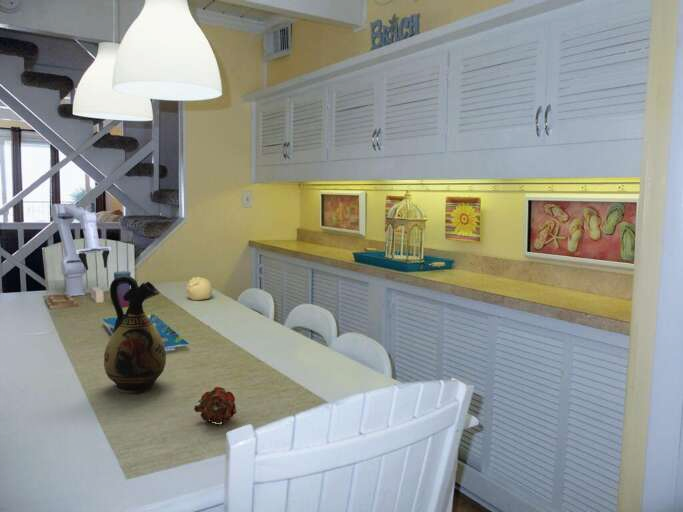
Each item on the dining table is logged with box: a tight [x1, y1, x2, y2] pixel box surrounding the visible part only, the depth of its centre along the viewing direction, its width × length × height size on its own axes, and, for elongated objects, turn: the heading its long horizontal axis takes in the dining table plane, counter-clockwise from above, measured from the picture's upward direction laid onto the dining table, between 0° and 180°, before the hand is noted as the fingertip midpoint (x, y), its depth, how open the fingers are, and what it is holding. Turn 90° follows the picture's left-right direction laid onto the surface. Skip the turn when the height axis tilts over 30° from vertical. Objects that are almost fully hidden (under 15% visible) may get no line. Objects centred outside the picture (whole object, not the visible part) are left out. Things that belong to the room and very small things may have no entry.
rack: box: [44, 293, 79, 310], centre depth 241 cm, size 18×11×2 cm, turn 34°
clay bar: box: [90, 286, 105, 304], centre depth 250 cm, size 12×3×5 cm, turn 35°
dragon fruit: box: [193, 386, 237, 424], centre depth 126 cm, size 8×8×12 cm
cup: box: [113, 270, 131, 308], centre depth 238 cm, size 7×7×15 cm
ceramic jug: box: [103, 275, 167, 395], centre depth 143 cm, size 17×15×30 cm
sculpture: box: [185, 276, 213, 301], centre depth 257 cm, size 12×12×11 cm
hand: (96, 268), depth 244 cm, fingers open, 7 cm apart
